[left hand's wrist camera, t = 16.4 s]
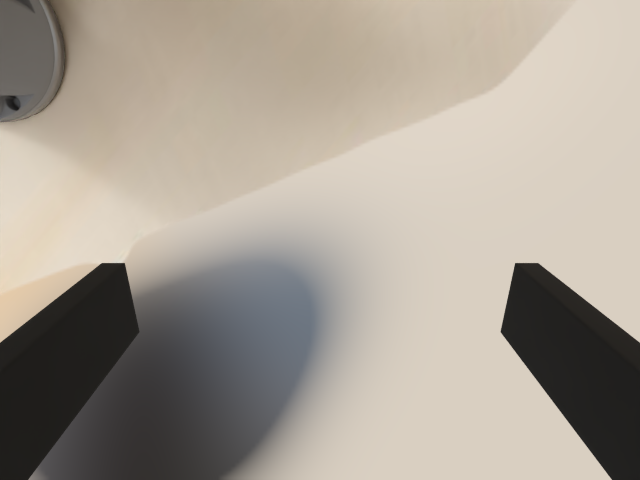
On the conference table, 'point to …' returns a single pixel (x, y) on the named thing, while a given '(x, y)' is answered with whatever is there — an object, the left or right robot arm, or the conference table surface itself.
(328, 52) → the conference table surface
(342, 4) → the conference table surface
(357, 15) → the conference table surface
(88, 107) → the conference table surface
